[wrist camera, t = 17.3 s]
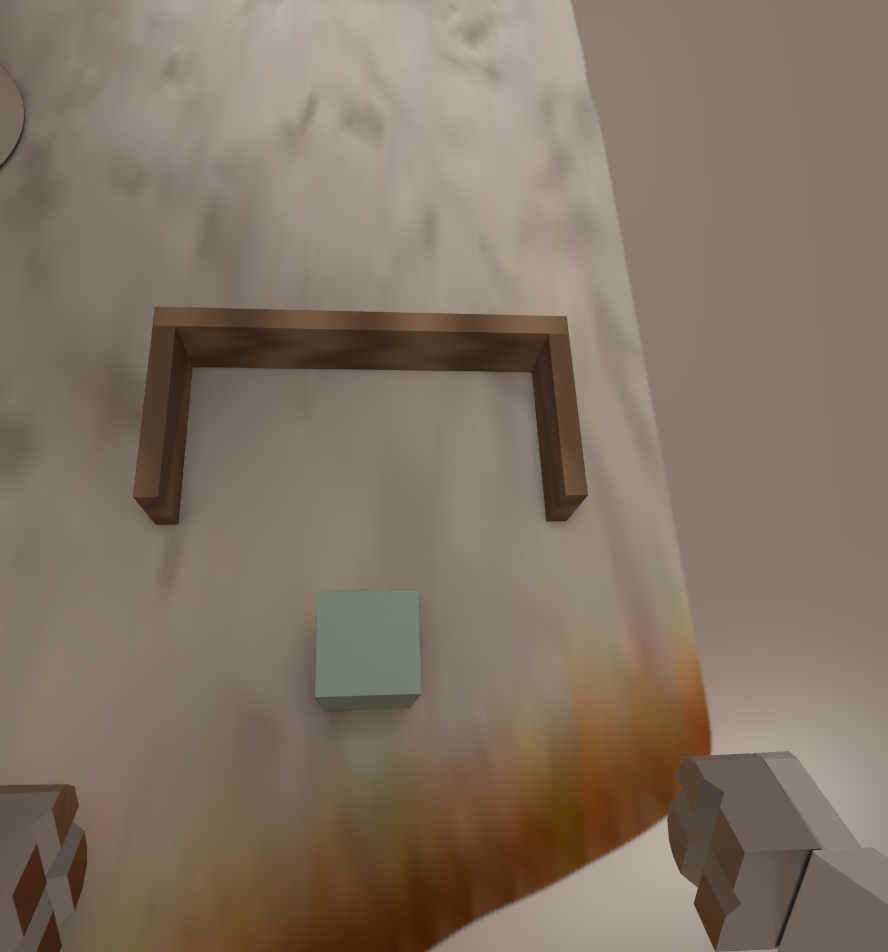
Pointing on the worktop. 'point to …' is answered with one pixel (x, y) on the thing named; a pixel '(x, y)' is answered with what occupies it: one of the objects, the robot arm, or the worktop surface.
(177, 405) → the wooden u-shaped stand
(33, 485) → the worktop surface
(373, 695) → the sage green block
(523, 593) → the worktop surface
